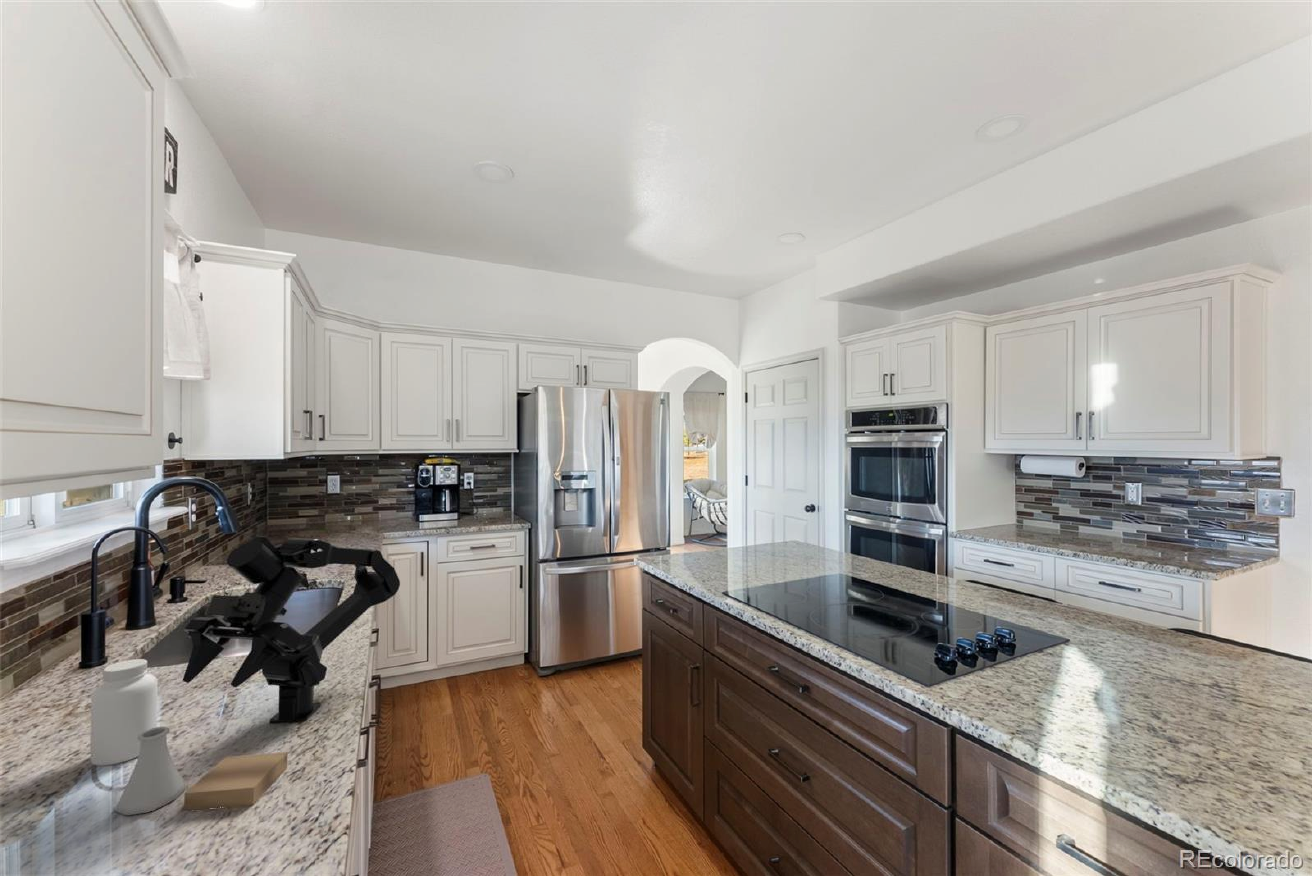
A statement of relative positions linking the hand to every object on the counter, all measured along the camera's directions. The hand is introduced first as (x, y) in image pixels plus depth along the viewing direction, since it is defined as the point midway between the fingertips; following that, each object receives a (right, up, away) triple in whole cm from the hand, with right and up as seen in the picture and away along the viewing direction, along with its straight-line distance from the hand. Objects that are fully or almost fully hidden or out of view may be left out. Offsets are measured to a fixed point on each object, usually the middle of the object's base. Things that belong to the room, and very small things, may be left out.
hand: (209, 684), depth 85 cm
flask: (-1, -14, -8) cm, 16 cm away
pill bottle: (-17, -14, +3) cm, 22 cm away
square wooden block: (+9, -14, -5) cm, 18 cm away
